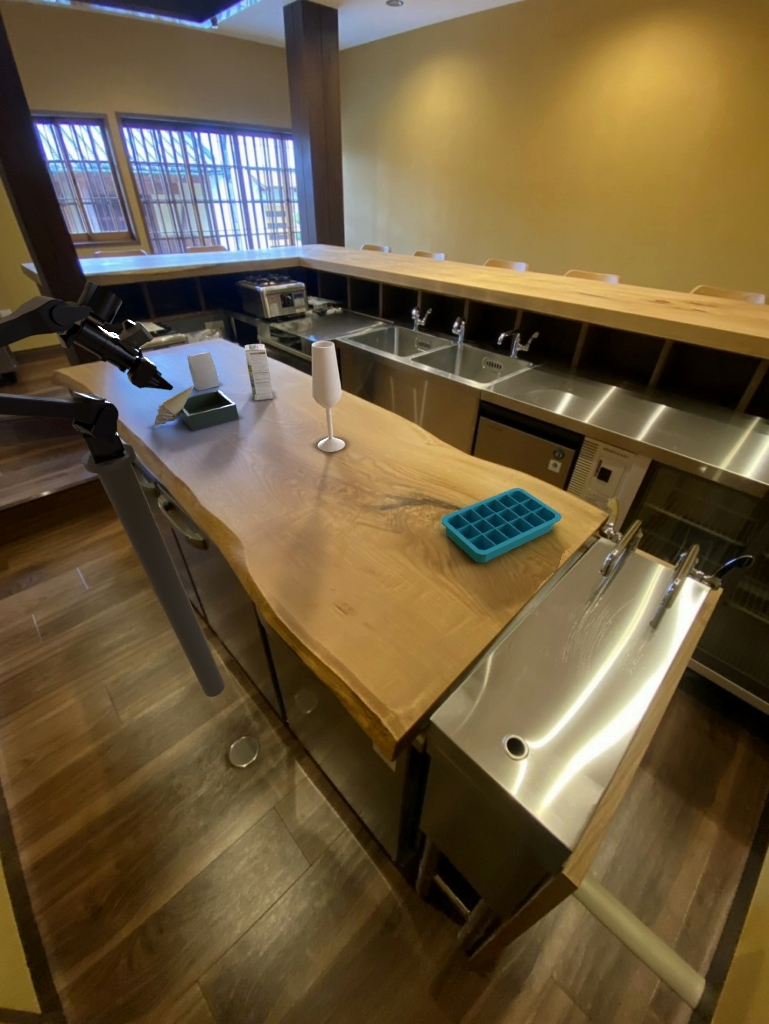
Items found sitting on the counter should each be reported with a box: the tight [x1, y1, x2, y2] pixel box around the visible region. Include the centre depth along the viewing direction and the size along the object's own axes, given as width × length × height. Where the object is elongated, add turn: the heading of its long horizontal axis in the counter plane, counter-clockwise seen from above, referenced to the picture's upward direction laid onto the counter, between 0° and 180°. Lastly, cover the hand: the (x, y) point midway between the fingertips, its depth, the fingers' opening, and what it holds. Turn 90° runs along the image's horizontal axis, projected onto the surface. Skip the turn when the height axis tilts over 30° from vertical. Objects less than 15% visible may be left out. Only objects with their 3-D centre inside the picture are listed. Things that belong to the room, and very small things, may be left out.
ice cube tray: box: [440, 487, 563, 564], centre depth 78 cm, size 12×20×3 cm, turn 121°
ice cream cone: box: [152, 386, 194, 428], centre depth 111 cm, size 5×5×15 cm
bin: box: [178, 389, 240, 432], centre depth 115 cm, size 13×13×4 cm
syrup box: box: [244, 343, 274, 401], centre depth 123 cm, size 6×6×14 cm
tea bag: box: [186, 351, 221, 391], centre depth 131 cm, size 4×7×10 cm, turn 129°
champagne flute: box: [311, 340, 346, 453], centre depth 97 cm, size 7×7×24 cm
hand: (166, 382), depth 105 cm, fingers open, 9 cm apart
